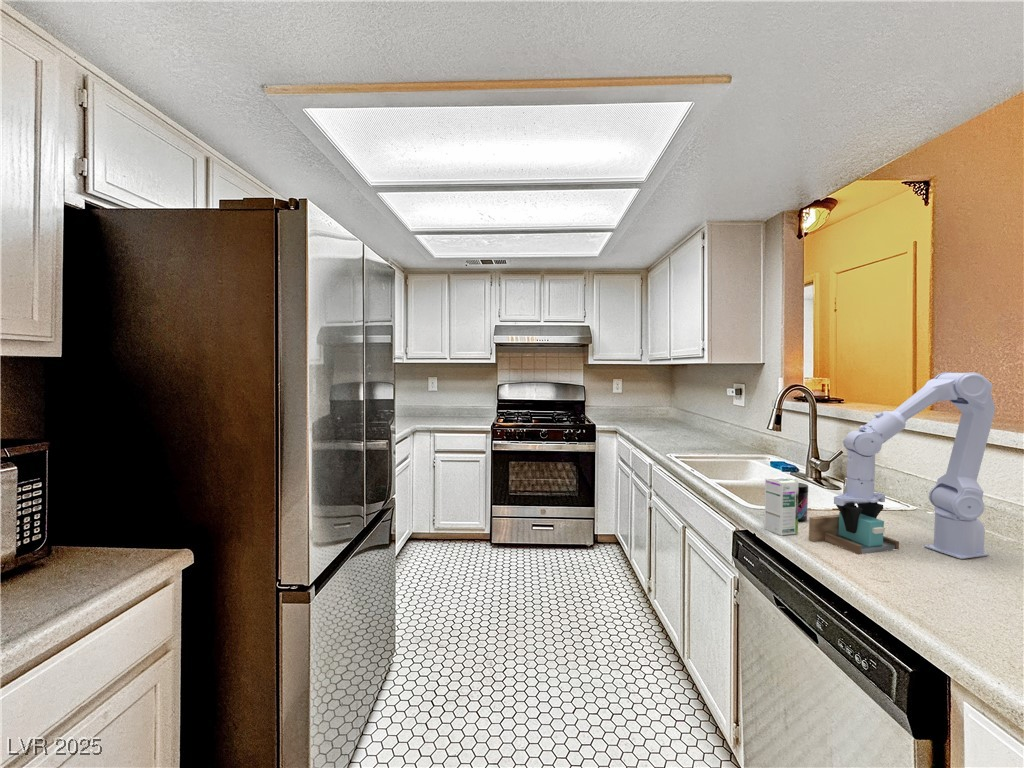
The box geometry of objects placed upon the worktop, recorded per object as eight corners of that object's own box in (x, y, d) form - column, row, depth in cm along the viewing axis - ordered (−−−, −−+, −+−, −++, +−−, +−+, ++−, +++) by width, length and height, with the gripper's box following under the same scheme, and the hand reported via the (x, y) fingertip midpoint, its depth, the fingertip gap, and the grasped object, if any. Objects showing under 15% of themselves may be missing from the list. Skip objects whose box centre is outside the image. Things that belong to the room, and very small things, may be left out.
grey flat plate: (860, 537, 123) (860, 532, 123) (895, 549, 115) (895, 544, 115) (828, 540, 120) (828, 536, 120) (861, 553, 112) (861, 548, 112)
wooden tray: (867, 533, 126) (868, 511, 126) (909, 548, 116) (910, 524, 116) (808, 540, 121) (809, 517, 121) (847, 555, 111) (848, 530, 110)
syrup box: (781, 536, 123) (782, 482, 123) (763, 528, 129) (764, 477, 129) (798, 534, 125) (799, 481, 125) (780, 527, 131) (781, 476, 130)
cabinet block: (851, 533, 122) (852, 510, 122) (886, 546, 114) (887, 522, 114) (838, 534, 121) (839, 512, 121) (872, 547, 113) (873, 523, 112)
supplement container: (787, 522, 135) (788, 486, 135) (776, 514, 142) (777, 481, 142) (812, 522, 134) (813, 487, 134) (800, 515, 141) (801, 481, 141)
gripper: (853, 483, 112) (851, 539, 112) (898, 480, 116) (896, 534, 116) (826, 477, 119) (825, 529, 119) (870, 474, 123) (868, 524, 123)
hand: (858, 531), depth 118 cm, fingers closed on cabinet block, 4 cm apart
